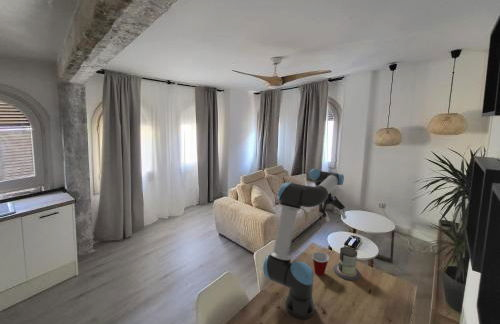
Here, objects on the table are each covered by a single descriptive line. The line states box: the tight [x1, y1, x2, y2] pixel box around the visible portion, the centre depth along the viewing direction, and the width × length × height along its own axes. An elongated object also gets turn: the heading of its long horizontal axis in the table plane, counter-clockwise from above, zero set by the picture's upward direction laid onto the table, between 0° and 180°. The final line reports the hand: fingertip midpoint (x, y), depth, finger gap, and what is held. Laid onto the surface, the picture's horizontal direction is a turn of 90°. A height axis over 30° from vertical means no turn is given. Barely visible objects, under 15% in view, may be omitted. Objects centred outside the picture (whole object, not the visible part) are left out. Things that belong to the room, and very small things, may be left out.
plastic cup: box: [311, 251, 330, 276], centre depth 152 cm, size 11×11×12 cm
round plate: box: [333, 263, 361, 281], centre depth 154 cm, size 16×16×1 cm
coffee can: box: [338, 246, 358, 276], centre depth 153 cm, size 10×10×14 cm
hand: (337, 220), depth 157 cm, fingers open, 13 cm apart
